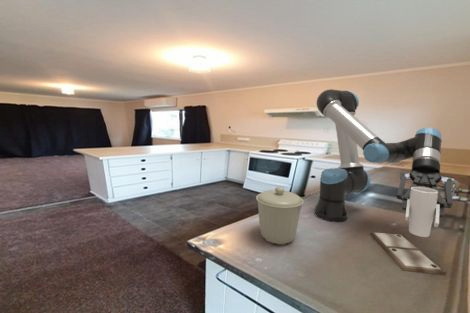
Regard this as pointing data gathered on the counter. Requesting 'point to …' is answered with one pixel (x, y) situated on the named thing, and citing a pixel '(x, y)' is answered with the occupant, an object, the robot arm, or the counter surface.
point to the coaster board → (406, 253)
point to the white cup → (422, 210)
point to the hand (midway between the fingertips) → (421, 221)
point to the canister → (279, 215)
